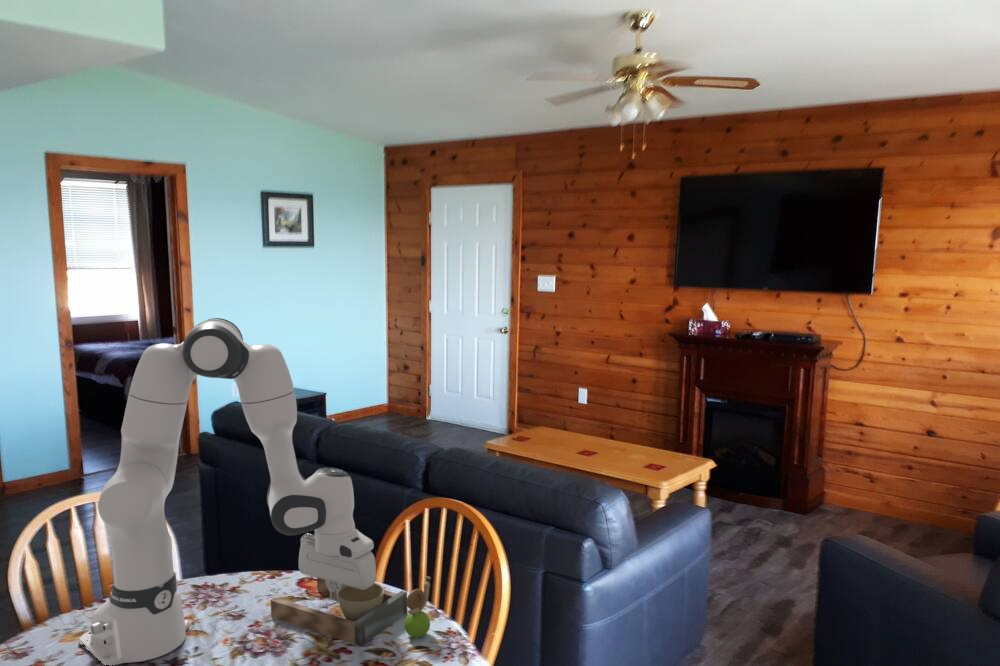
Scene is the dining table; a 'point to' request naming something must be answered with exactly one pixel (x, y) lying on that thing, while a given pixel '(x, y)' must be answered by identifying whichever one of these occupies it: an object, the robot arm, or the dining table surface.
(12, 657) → the dining table surface
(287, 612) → the walled lane
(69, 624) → the dining table surface
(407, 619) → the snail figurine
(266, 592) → the dining table surface
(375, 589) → the flower pot
